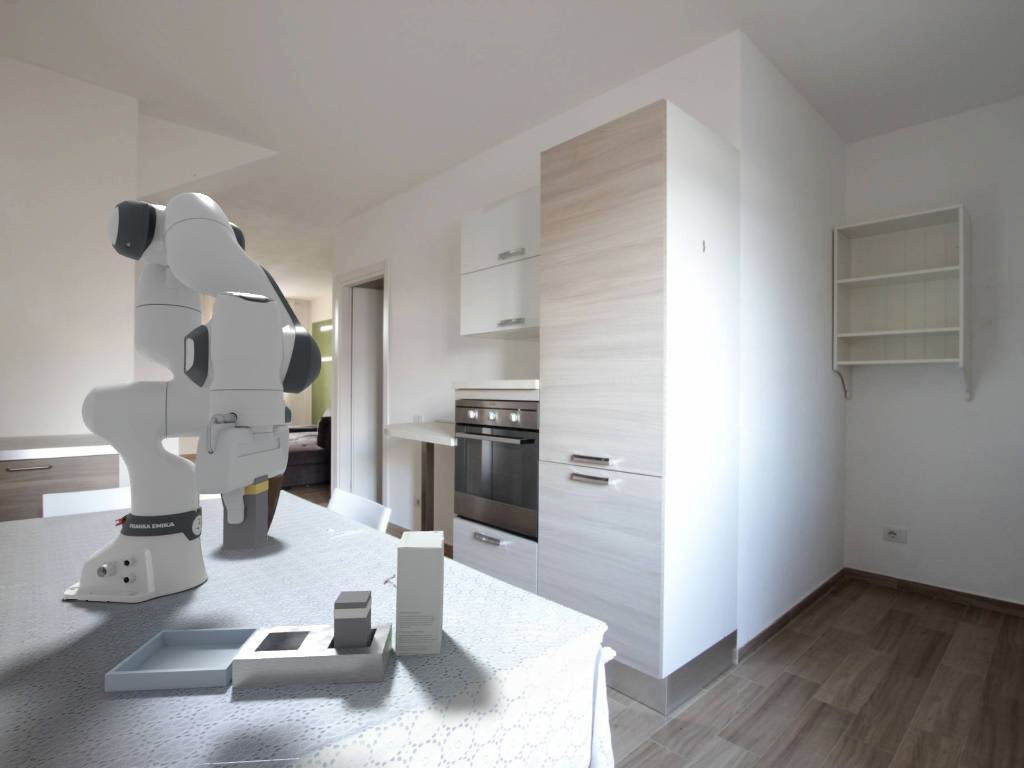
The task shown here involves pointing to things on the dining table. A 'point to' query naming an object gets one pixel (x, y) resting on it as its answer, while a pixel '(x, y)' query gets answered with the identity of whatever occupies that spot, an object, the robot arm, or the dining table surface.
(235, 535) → the plug
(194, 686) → the tray
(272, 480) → the plant pot
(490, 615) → the dining table surface
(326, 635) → the double slot holder
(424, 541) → the skincare box
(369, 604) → the twin plug
